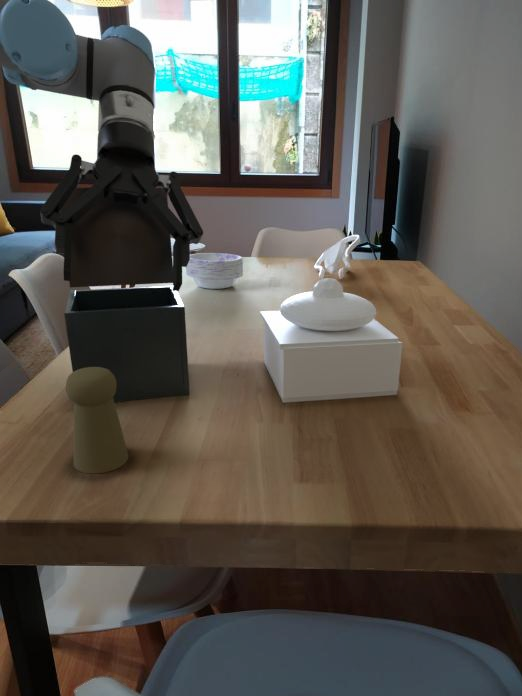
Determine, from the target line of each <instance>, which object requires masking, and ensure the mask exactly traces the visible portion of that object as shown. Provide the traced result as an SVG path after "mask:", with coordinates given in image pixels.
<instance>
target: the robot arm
mask: <svg viewBox="0 0 522 696" xmlns="http://www.w3.org/2000/svg"><path fill="white" fill-rule="evenodd" d="M0 67H1V68H2V70H3V71H2V72H3V75H4V78H5V79H6V80H7V81H8V82H9V83H10V84H12V85H16V86H20V87H24V88H27V89H30V90H31V91H43V92H49V93H54V94H59V95H64V96H65V95H66V96H71V97H77V98H83V99H87V100H90V101H97V102H98V113H97V114H98V117H97V122H98V124H97V132H98V133H97V145H96V146H97V149H96V160H95V161H94V162H89V161H86V160H82V156H81V155H79V154H76V153H75V154H73V155H72V156H71V159H70V163H69V169H68V170H67V172H66V173H65V174H64V176H63V177H62V178H61V180H60V181H59V182H58V184H57V185H56V187H55V188H54V190H52V192H51V193H50V195H49V196H48V197H47V199H46V201H44V203H43V205H42V206H41V208H40V209H39V210H40V221H41V224H43V225H45V226H51V227H53V228H54V229H55V230H54V231H55V232H54V249H55V252H56V253H59V254H63V281H66V282H69V281H70V277H71V253H72V225H73V224H74V223H75V222H76V221H77V220H79V219H80V218H81V217H82V216H83V215H85V214H86V213H87V212H88V211H89V210H91V209H92V208H93V207H94V206H95V205H97V204H98V203H101V202H102V201H104V200H105V199H106V198H107V197H108V196H109V197H110V198H112V199H113V201H127V202H129V203H133V204H137V202H142V203H143V205H144V206H145V207H146V208H147V209H148V210H150V211H151V212H152V213H153V214H154V215H155V216H156V218H157V219H158V220H159V221H160V222H161V224H162V225H163V226H164V227H165V228H166V230H167V231H168V232H169V233H170V236H171V237H172V238H173V239H174V243H173V245H172V261H173V283H172V286H173V291H177V292H180V289H181V287H182V285H183V268H186V267H187V265H188V262H189V260H190V255H191V247H190V246H191V245H192V244H193V245H198V244H199V243H201V240H202V237H203V236H204V230H203V228H202V225H201V224H200V222H199V220H198V219H197V216H196V214H195V213H194V211H193V209H192V207H191V205H190V203H189V200H188V199H187V197H186V195H185V194H184V192H183V189H182V188H181V182H180V176H179V174H178V172H177V171H170V173H169V174H159V173H158V172H157V169H156V87H157V86H156V82H157V80H156V79H157V69H156V59H155V49H154V47H153V44H152V42H151V40H150V39H149V38H148V36H147V35H145V34H144V33H143V32H142V31H140V29H137V28H136V27H133V26H131V25H126V24H121V25H119V26H110V27H108V28H107V29H106V30H105V31H104V32H103V33H102V35H101V38H100V39H99V38H95V37H94V38H93V37H89V36H88V37H87V36H84V35H80V34H76V31H75V30H74V27H73V25H72V24H71V22H70V20H69V19H68V17H67V16H66V14H64V12H62V10H61V9H60V8H59V7H58V6H57V5H56V4H55V3H53V2H52V1H50V0H0ZM88 175H93V178H94V179H95V181H94V182H93V184H92V186H90V187H91V188H89V189H88V190H87V191H86V192H84V193H83V194H82V195H81V196H80V197H78V198H77V199H76V200H75V201H73V202H72V203H71V204H70V205H68V206H67V207H66V208H65V209H63V210H62V211H60V210H61V208H62V207H63V205H64V204H65V203H66V201H67V200H68V198H69V197H70V196H71V194H72V193H73V191H74V190H75V188H76V187H78V185H79V183H80V181H81V180H84V179H86V178H87V176H88ZM158 186H160V187H161V188H163V190H164V191H165V193H167V196H168V199H169V201H170V203H171V205H172V206H173V208H174V210H175V212H176V214H177V215H175V214H174V212H173V211H172V210H171V209H170V207H169V205H168V206H167V205H166V204H165V203H164V201H163V200H162V199H161V198H160V196H159V194H158V192H157V190H156V189H155V188H157V187H158Z"/></svg>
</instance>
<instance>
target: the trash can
mask: <svg viewBox="0 0 522 696" xmlns="http://www.w3.org/2000/svg"><path fill="white" fill-rule="evenodd" d="M63 315H64V316H63V317H64V322H65V328H66V329H65V330H66V336H67V344H68V350H69V357H70V364H71V370H72V371H71V372H74V371H76V370H78V369H82V368H87V367H102V368H105V369H108V370H110V371H111V372H112V374H113V375H114V376H115V379H116V385H117V386H116V393H115V395H114V396H113V400H114V403H116V402H117V403H118V402H127V401H136V400H146V399H155V398H157V399H158V398H166V397H177V396H186V395H190V377H189V375H190V374H189V358H188V357H189V356H188V342H187V340H188V339H187V325H186V324H187V323H186V307H185V305H184V303H183V300H182V299H181V297H180V295H179V293H178V291H173V285H158V286H137V287H136V286H135V287H134V286H133V287H115V288H113V287H112V288H95V289H94V288H93V289H73V290H72V289H71V290H70V291H69V294H68V299H67V302H66V306H65V310H64V312H63Z"/></svg>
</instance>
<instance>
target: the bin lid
mask: <svg viewBox="0 0 522 696" xmlns="http://www.w3.org/2000/svg"><path fill="white" fill-rule="evenodd" d="M91 187H92V186H90V187H89V186H87V187H85V186H80V187H79V186H77V187H76V188H75V190H74V191H73V193H72V194H71V196H70V197H69V198H68V200H67V201H66V203H65V204H64V205H63V207H62V208H61V210H60V211H59V212H61V211H62V210H63V209H65V208H66V207H67V206H68V205H70V204H71V203H72V202H73V201H75V200H76V199H77V198H78V197H80V196H81V195H82V194H83V193H84V192H86V191H87V190H88V189H89V188H91ZM155 189H156V190H157V192H158V194H159V196H160V198H161V199H162V200H163V201H164V203H165V204H166V205H167V206H168V207H169V200H168V199H169V197H168V193H165V191H164V190H163V187H155ZM171 237H172V236H171V234H170V233H169V232H168V231H167V230H166V228H165V227H164V226H163V225H162V224H161V222H160V221H159V220H158V219H157V218H156V216H155V215H154V214H153V213H152V212H151V211H150V210H148V209H147V208H146V207H145V206H144V205H143V203H142V202H137V204H133V203H129V202H127V201H113V199H112V198H110V197H109V196H108V197H107V198H106V199H105V200H104V201H102V202H101V203H98V204H97V205H95V206H94V207H93V208H92V209H91V210H89V211H88V212H87V213H86V214H85V215H83V216H82V217H81V218H80V219H79V220H77V221H76V222H75V223H74V224H73V225H72V253H71V277H70V281H68V284H69V287H70V288H91V287H110V286H111V287H113V286H132V285H133V286H135V285H157V284H158V285H159V284H173V248H172V239H171Z"/></svg>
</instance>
